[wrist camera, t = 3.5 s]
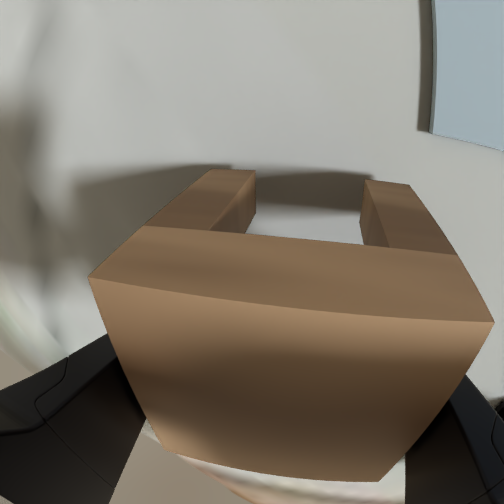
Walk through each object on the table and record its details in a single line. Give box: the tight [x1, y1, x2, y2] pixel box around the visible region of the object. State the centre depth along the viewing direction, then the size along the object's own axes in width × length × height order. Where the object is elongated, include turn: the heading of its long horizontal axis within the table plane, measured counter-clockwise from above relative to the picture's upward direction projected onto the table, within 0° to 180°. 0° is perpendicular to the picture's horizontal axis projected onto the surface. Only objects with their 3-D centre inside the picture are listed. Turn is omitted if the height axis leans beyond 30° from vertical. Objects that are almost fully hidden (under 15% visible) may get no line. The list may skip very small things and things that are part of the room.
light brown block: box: [88, 169, 495, 482], centre depth 9 cm, size 6×6×6 cm
